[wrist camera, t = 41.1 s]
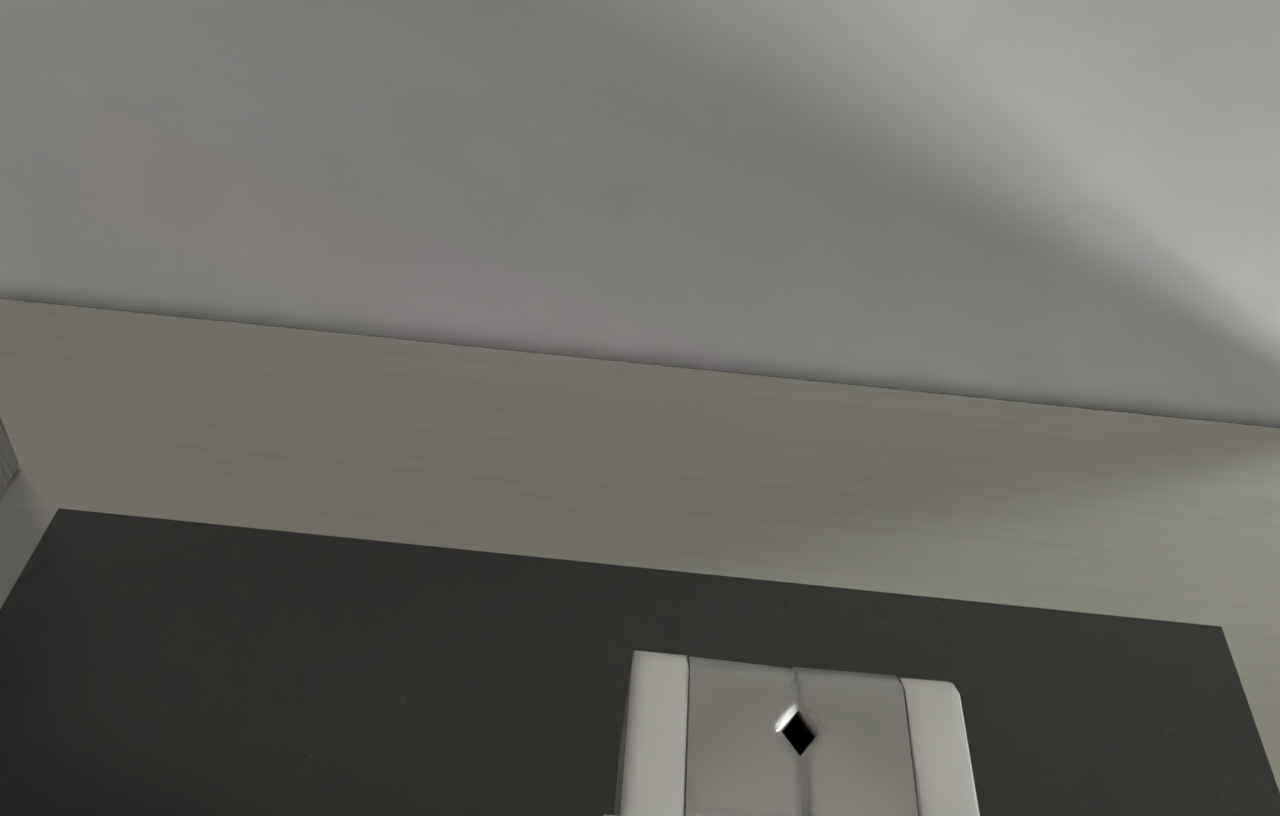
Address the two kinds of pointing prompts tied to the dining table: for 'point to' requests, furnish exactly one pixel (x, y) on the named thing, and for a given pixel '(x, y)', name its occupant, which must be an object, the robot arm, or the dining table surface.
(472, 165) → the dining table surface
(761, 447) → the microwave door
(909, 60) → the dining table surface
